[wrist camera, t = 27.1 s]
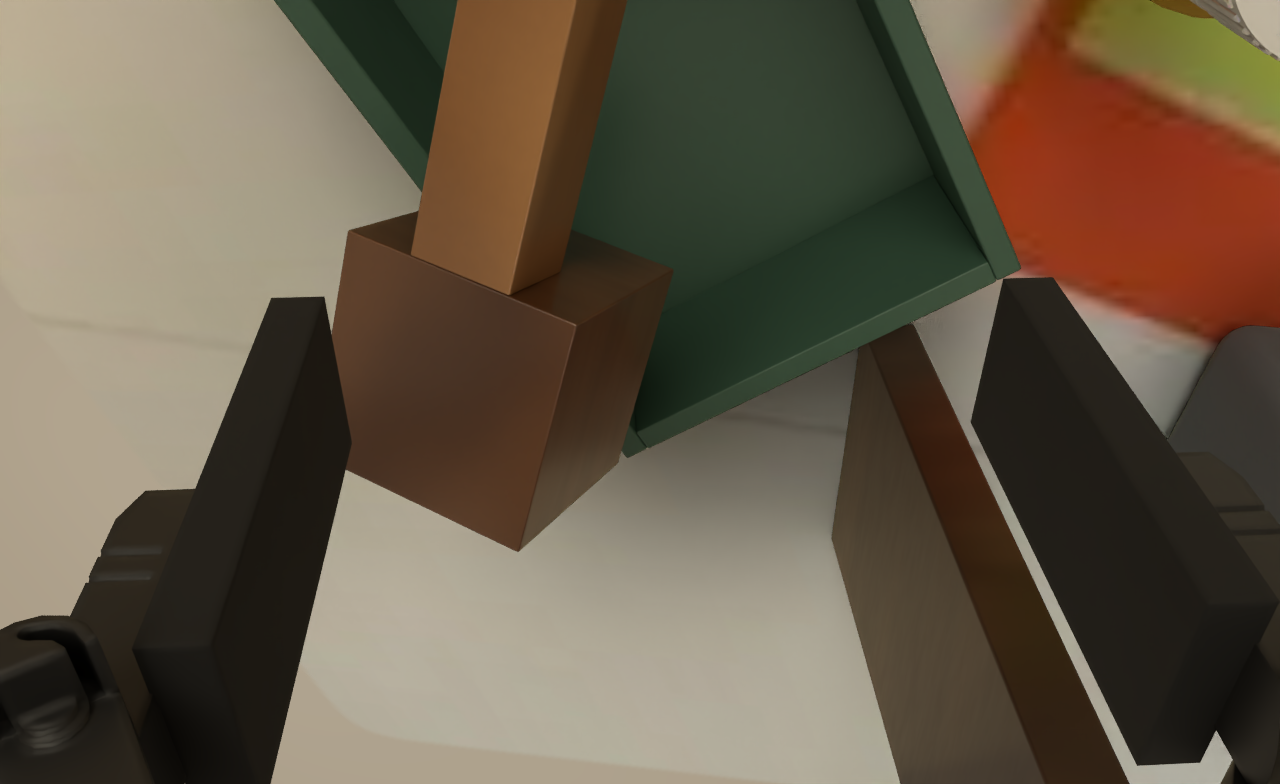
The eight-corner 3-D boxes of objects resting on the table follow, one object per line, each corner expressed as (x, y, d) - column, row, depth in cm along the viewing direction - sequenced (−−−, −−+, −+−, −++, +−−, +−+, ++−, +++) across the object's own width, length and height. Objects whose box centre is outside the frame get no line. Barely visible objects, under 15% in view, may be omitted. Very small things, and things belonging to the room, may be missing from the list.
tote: (618, 347, 42) (626, 459, 36) (161, -289, 29) (73, -258, 24) (958, 173, 38) (1022, 269, 33) (608, -633, 26) (621, -688, 20)
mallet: (453, -443, 20) (591, -348, 25) (311, 453, 28) (439, 384, 33) (757, -376, 19) (837, -290, 24) (517, 553, 26) (618, 463, 32)
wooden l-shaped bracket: (600, 563, 48) (641, 1545, 24) (595, 332, 41) (645, 1395, 17) (873, 553, 49) (1176, 1501, 25) (914, 323, 42) (1393, 1340, 18)
